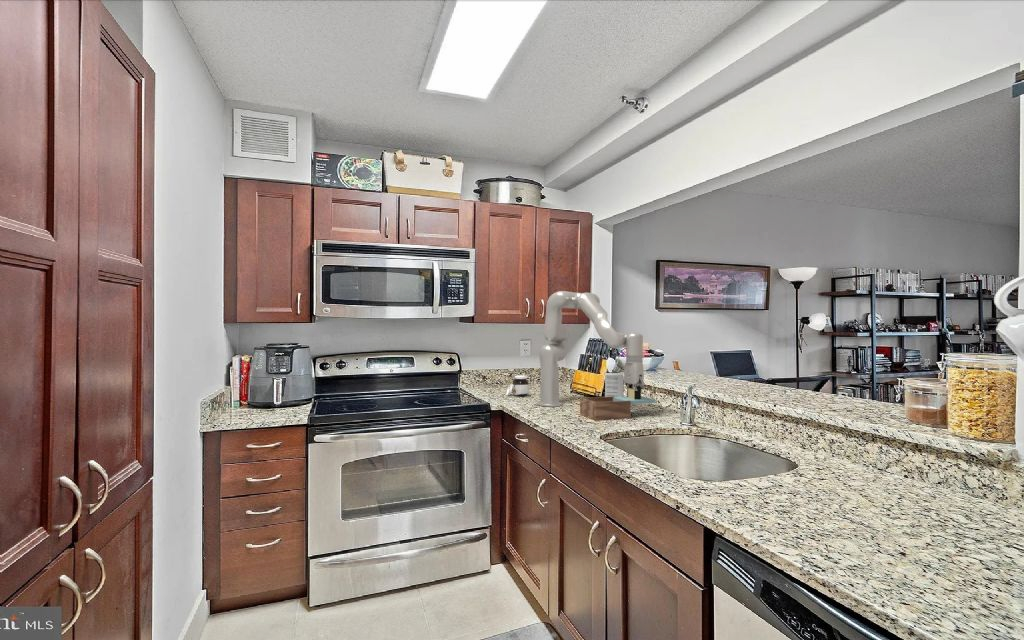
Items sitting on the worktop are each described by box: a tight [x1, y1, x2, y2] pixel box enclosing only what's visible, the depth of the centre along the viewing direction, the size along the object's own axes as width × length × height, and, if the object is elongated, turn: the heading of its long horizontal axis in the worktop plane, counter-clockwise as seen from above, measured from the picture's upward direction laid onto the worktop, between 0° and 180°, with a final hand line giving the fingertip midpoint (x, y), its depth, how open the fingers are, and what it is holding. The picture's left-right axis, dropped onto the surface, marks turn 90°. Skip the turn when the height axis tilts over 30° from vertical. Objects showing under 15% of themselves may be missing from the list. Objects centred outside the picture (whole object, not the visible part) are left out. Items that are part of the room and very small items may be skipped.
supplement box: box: [604, 372, 625, 397], centre depth 245 cm, size 10×9×17 cm
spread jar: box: [506, 374, 530, 398], centre depth 278 cm, size 12×11×12 cm
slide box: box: [579, 396, 632, 422], centre depth 218 cm, size 14×18×8 cm
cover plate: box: [613, 387, 656, 405], centre depth 223 cm, size 11×16×6 cm
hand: (633, 397), depth 223 cm, fingers closed on cover plate, 5 cm apart
